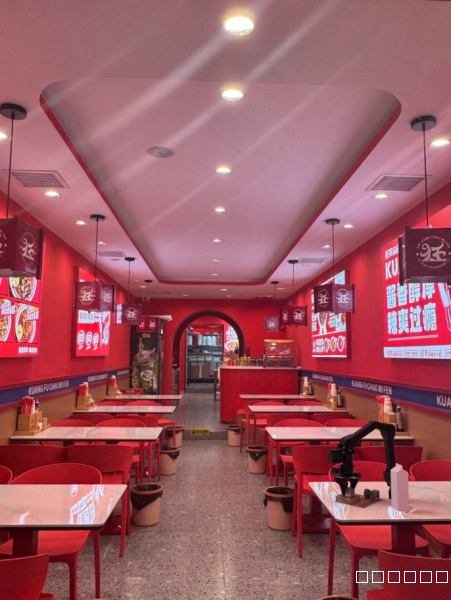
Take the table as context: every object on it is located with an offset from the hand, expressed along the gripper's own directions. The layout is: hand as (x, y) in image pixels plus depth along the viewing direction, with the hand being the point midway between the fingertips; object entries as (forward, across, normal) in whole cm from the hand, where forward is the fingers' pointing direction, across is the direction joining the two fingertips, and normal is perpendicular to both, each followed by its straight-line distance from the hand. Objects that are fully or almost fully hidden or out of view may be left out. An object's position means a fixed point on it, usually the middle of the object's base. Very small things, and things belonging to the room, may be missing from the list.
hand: (348, 494), depth 241 cm
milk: (+5, -6, +24) cm, 26 cm away
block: (+3, 0, 0) cm, 3 cm away
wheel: (+3, -12, +6) cm, 14 cm away
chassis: (+4, -5, +4) cm, 8 cm away
